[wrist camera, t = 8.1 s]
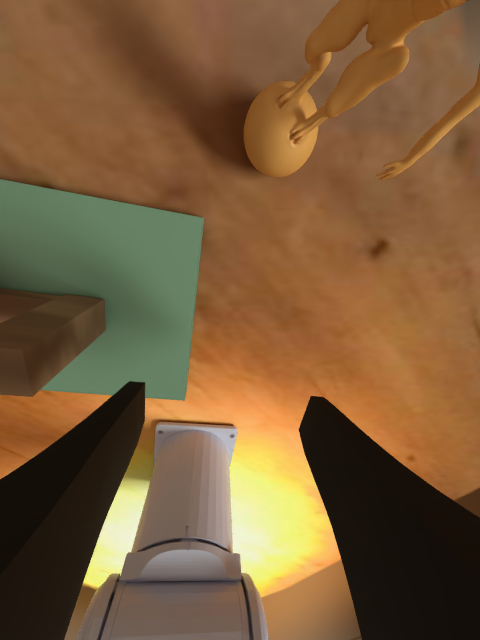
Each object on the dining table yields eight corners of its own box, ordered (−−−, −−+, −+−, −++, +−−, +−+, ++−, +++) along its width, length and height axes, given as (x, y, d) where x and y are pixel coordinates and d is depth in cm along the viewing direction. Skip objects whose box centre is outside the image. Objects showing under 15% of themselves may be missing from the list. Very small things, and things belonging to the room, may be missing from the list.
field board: (186, 392, 21) (184, 400, 20) (-83, 371, 18) (-99, 379, 17) (204, 218, 15) (203, 217, 14) (-180, 145, 12) (-213, 138, 11)
